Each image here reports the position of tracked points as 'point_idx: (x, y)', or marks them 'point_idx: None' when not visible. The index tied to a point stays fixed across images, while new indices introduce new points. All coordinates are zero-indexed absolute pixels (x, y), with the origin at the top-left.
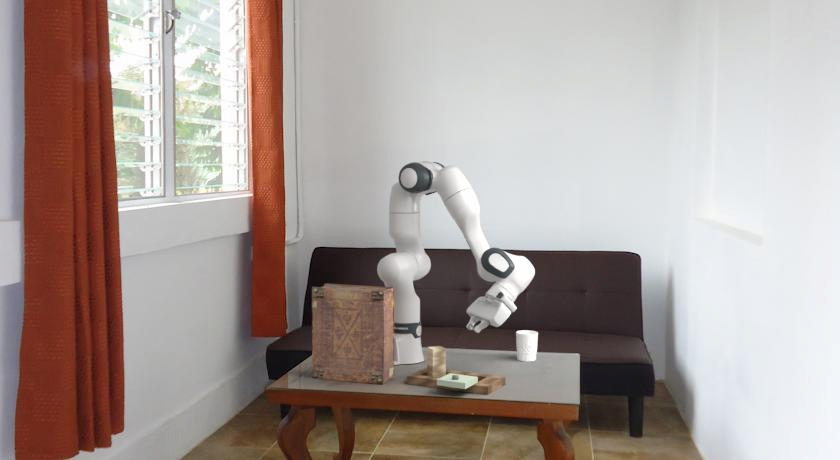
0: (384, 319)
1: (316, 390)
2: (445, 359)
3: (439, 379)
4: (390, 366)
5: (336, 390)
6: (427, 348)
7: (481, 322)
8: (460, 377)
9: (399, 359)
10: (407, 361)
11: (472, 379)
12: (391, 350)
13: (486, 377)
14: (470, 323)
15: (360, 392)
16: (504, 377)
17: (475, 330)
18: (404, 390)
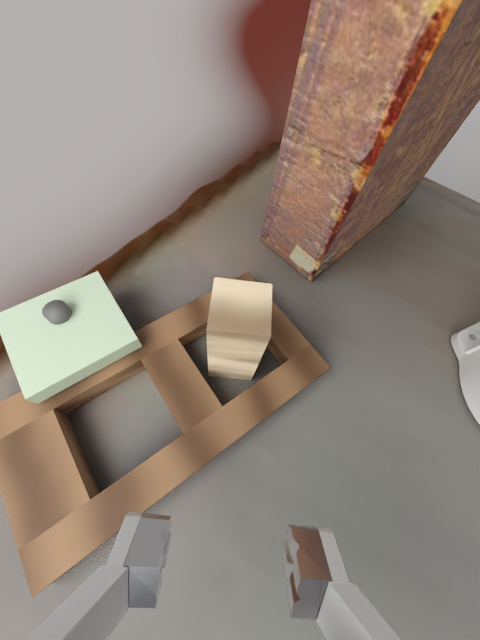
0: (311, 38)
1: (270, 152)
2: (207, 347)
3: (91, 275)
4: (302, 244)
5: (256, 170)
6: (270, 287)
7: (57, 634)
8: (64, 339)
9: (471, 352)
10: (468, 378)
11: (10, 360)
12: (323, 213)
13: (85, 491)
14: (303, 572)
15: (222, 191)
16: (28, 583)
17: (128, 513)
18: (191, 255)
